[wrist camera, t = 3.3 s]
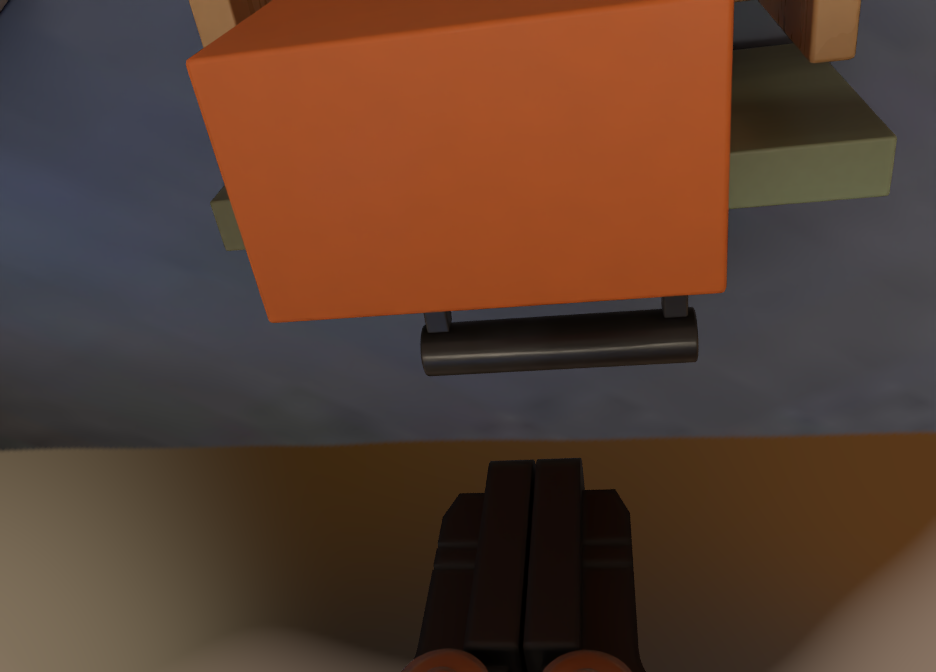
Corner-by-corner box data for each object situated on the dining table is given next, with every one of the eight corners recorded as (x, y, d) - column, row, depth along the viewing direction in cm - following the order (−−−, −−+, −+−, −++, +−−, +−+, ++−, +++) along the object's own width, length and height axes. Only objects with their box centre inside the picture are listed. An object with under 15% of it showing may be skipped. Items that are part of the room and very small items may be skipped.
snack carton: (428, 47, 21) (268, 325, 10) (404, -94, 19) (181, 60, 8) (646, 20, 20) (727, 294, 9) (642, -131, 18) (735, -11, 7)
